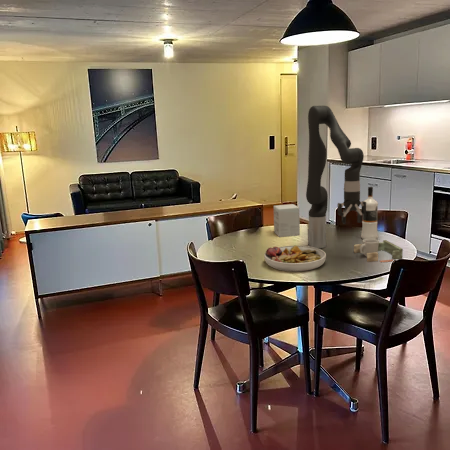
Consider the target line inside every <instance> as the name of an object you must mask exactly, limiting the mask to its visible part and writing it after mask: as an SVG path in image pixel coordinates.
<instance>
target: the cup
mask: <svg viewBox="0 0 450 450" xmlns="http://www.w3.org/2000/svg"><path fill="white" fill-rule="evenodd" d="M361 241H362V242H361V244H362V245H361V246H360V253H361V254H363V255H364V256H365V257H367V253H374V252H377V253H378V252H379V251H378V246H379V243H380V240H379V239H378V238H377V239H362V240H361ZM362 248H363V251H362ZM378 254H379V253H378Z"/></svg>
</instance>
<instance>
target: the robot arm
mask: <svg viewBox="0 0 450 450" xmlns="http://www.w3.org/2000/svg"><path fill="white" fill-rule="evenodd" d="M307 115H308V116H307V120H308V121H307V122H308V124H307V125H308V160H307V162H308V168H307V169H308V170H307V171H308V172H307V173H308V174H307V183H306V185H307V186H306V191H305V192H306V193H305V198H306V201H307V202H308V203H309V204H310V205H311V207H310V209H309V210H308V229H307V246H309V247H314V248H318V249H323V248H326V247H327V211H328V200H329V199H328V198H329V197H328V195H329V194H328V191H327V189H326V188H325V187H324V186H322V185H321V184H322V176H323V173H324V170H325V168H326V164H327V147H326V145H325V143H324V140H323V139H322V137H321V133H320V125H323V124H324V125H326V126H327V127H328V129H329V137H330V140H331V143H332V144H333V145H334V146H335V148H336V149H337V151H338V154H339V157H340V160H341V161H342V162H343V163H344V164H350V167H348V168H346V169H345V170H344V181H343V182H344V183H343V202H341V203H340V202H337V215H338V216H340V217H341V223H342V224H343V225H346V224H347V218H346V217H347V214H348V213H349V212H352V211H355V212H357V213H356V214H357V219H356V220H357V221H356V223H359V224H360V223H362V221H363V214H365V213H366V202H365V200H363V201H361V182H360V180H361V178H360V177H361V173H360V172H361V169H362V166H363V163H364V157H365V156H364V152H363V150H362V148H359V147H353V148H352V141H351V140H350V139H349V137H348V136H347V135H346V133H345V132H344V131H343V130H342V128H341V126H340V124H339V122H338V120H337V118H336V116H335V114H334V112H333V110H332V109H331V108H330V107H329V106H327V105H312V106H310V108H309V109H308V112H307ZM360 206H361V209H360ZM342 208H343V209H342Z"/></svg>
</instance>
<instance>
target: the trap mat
mask: <svg viewBox="0 0 450 450" xmlns="http://www.w3.org/2000/svg"><path fill="white" fill-rule="evenodd" d="M393 260H394V259H392V258H391V259H381V260H379V262H380V263H382V262H383V263H391V262H392V261H393ZM393 262H394V261H393ZM393 262H392V263H393Z"/></svg>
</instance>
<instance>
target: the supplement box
mask: <svg viewBox="0 0 450 450" xmlns="http://www.w3.org/2000/svg"><path fill="white" fill-rule="evenodd" d="M300 218H301V217H300V207H299V206H297V205H296V204H294V203H291V204H290V203H289V204H279V205H273V231H274V232H273V233H274V234H275V235H276V236H278V238H284V237H295V236H296V237H297V236H300V235H301V231H300V230H301V228H300V227H301V223H300V221H301V220H300Z"/></svg>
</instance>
